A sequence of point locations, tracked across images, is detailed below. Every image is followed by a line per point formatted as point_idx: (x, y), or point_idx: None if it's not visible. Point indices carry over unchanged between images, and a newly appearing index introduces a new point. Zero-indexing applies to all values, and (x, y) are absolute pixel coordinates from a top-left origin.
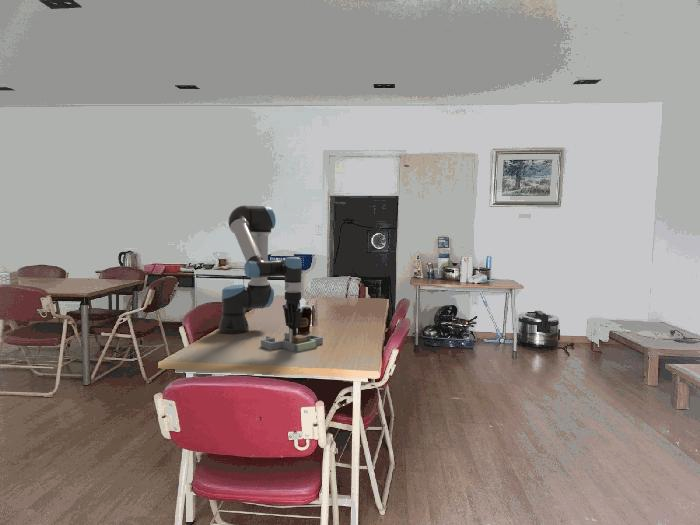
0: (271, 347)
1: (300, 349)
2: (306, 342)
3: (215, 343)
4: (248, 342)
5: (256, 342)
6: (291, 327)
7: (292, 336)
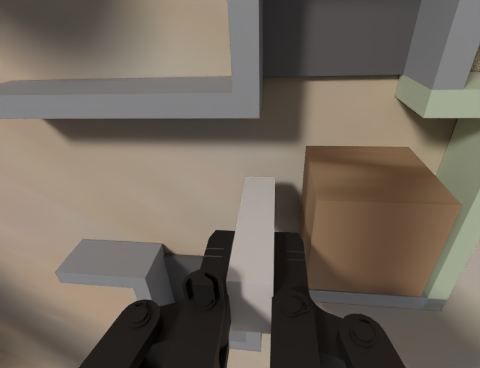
0: None
1: None
2: (473, 220)
3: (26, 359)
4: (52, 295)
5: None
6: (230, 322)
7: (310, 282)
